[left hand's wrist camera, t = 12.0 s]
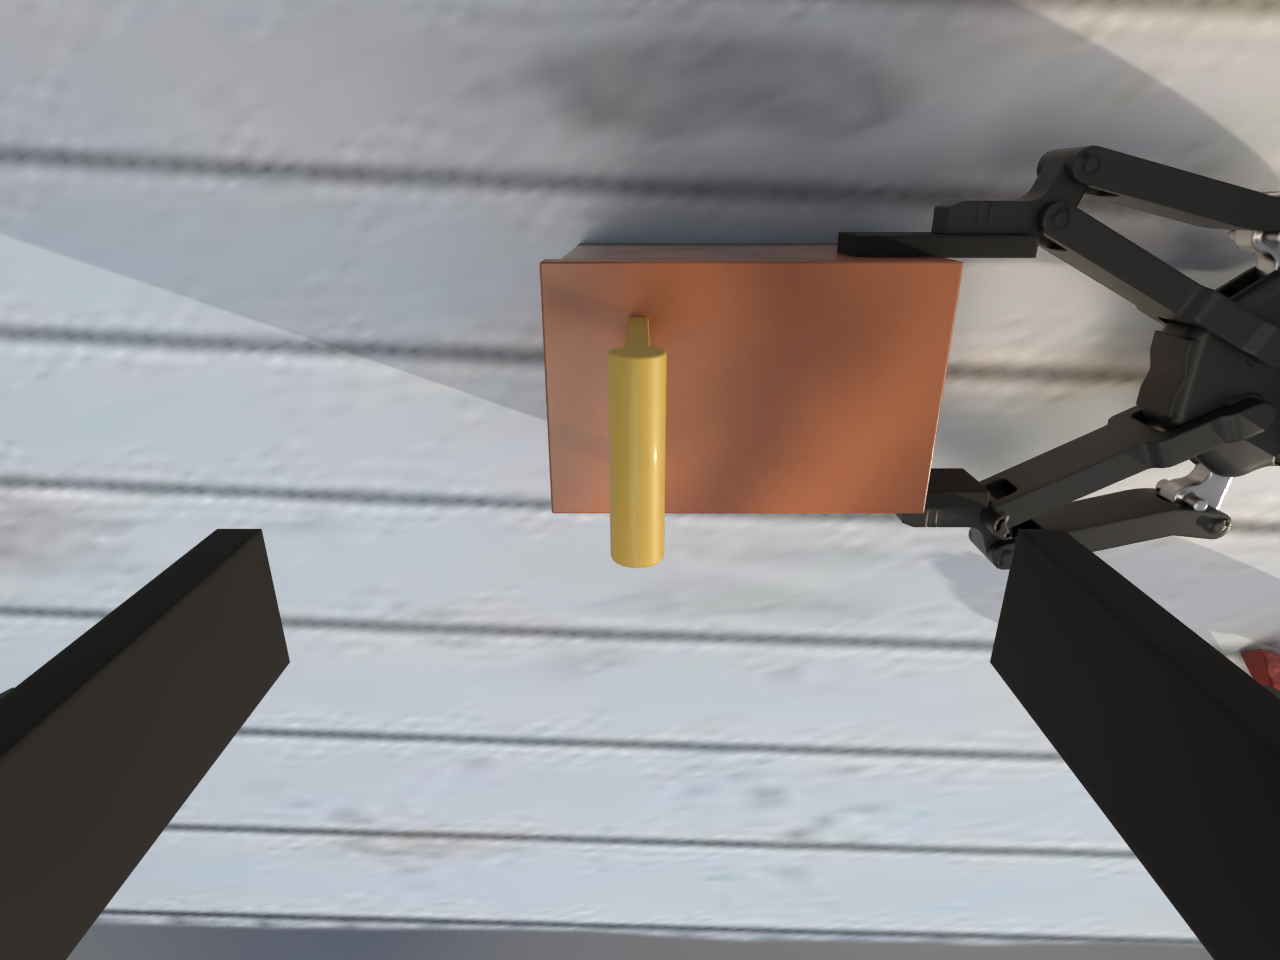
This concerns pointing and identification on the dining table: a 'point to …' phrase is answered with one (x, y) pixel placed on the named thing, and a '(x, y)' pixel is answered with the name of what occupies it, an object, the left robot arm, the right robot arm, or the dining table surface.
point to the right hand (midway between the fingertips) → (834, 373)
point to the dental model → (1263, 667)
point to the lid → (742, 387)
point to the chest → (714, 251)
